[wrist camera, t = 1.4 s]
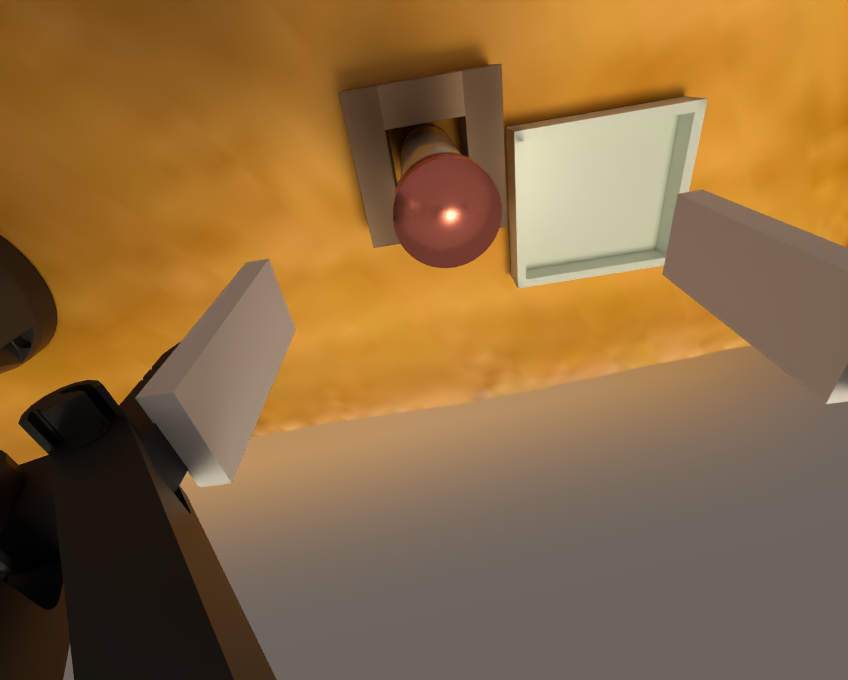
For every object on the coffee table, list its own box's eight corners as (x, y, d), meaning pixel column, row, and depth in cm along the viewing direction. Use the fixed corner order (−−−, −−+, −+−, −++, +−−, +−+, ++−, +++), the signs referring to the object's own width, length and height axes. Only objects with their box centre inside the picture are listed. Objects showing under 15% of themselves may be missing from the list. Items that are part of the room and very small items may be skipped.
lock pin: (401, 193, 32) (403, 275, 19) (389, 125, 30) (382, 168, 17) (461, 182, 32) (504, 259, 19) (455, 114, 29) (499, 148, 17)
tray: (510, 275, 37) (517, 288, 35) (506, 127, 30) (514, 131, 28) (657, 252, 36) (673, 263, 34) (685, 96, 30) (707, 98, 27)
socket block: (376, 230, 34) (373, 247, 31) (345, 90, 28) (338, 93, 25) (496, 210, 33) (507, 226, 30) (489, 64, 28) (501, 64, 25)
